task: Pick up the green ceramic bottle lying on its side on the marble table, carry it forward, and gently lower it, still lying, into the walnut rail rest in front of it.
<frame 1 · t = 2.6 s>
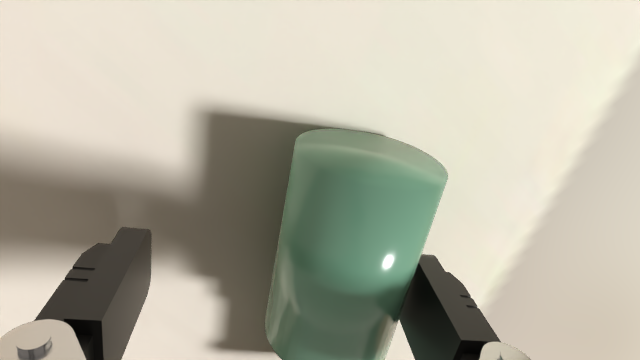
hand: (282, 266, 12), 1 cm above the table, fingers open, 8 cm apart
bottle: (336, 290, 12), point 2 cm above the table, tilted 54°
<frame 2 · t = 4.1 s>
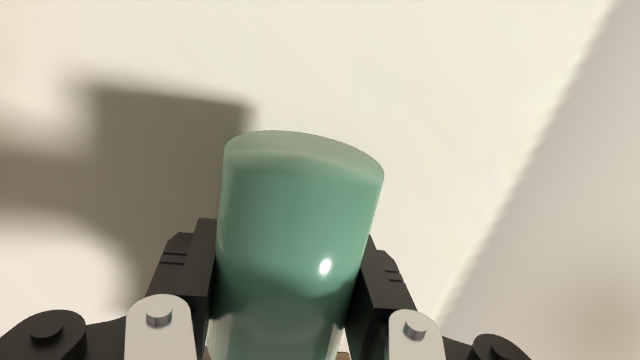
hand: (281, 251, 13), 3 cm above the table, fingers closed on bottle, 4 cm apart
bottle: (280, 298, 12), point 4 cm above the table, touching gripper
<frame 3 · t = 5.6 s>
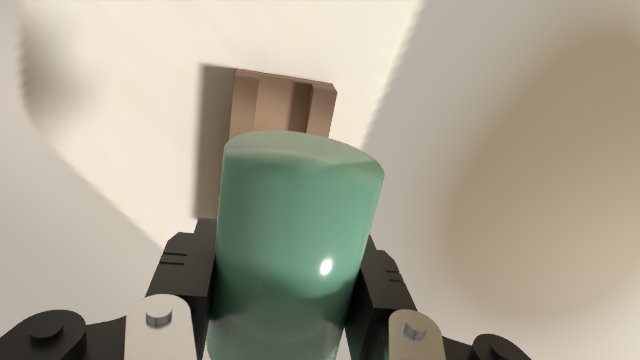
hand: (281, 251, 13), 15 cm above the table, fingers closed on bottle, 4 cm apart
bottle rest: (274, 156, 28), on the table
bottle: (280, 298, 12), point 17 cm above the table, touching gripper
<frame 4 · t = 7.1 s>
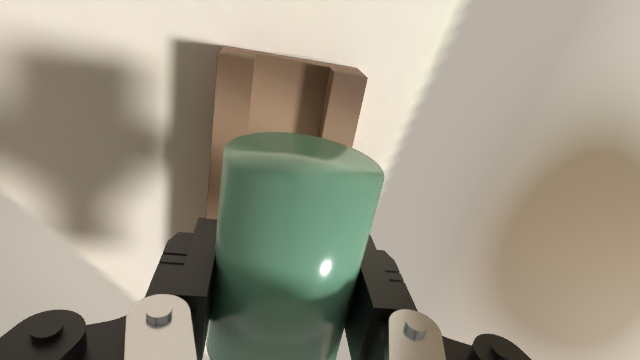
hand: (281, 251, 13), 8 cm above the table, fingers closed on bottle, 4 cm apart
bottle rest: (276, 169, 20), on the table
bottle: (280, 300, 12), point 9 cm above the table, touching gripper
when the fingers open (3 cm above the table, at t = 8.3 s): bottle drops 2 cm, resting on bottle rest.
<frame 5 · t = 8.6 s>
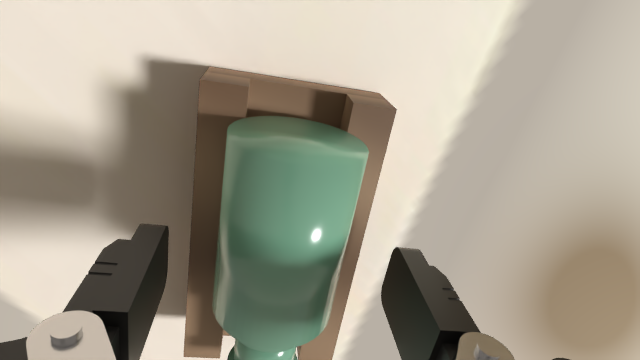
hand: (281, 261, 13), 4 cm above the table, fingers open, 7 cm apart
bottle rest: (276, 216, 16), on the table
bottle: (278, 267, 13), point 3 cm above the table, touching bottle rest
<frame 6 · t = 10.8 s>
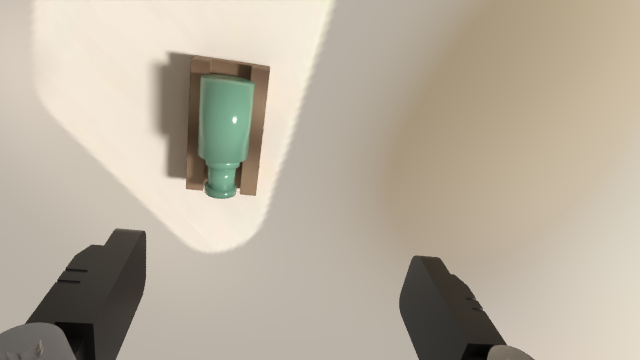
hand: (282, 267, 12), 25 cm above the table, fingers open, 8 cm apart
bottle rest: (228, 125, 36), on the table
bottle: (224, 136, 32), point 3 cm above the table, touching bottle rest
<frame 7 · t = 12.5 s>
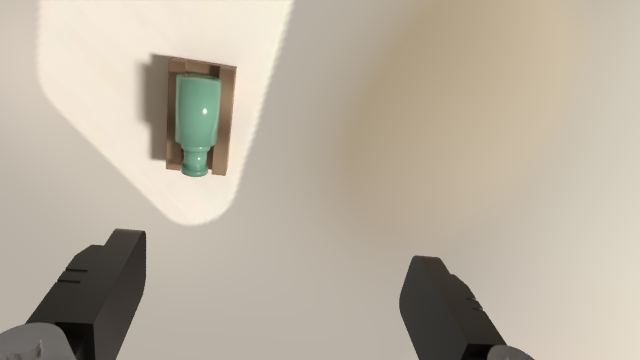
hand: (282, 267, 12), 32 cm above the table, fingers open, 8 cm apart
bottle rest: (202, 115, 42), on the table
bottle: (197, 125, 39), point 3 cm above the table, touching bottle rest
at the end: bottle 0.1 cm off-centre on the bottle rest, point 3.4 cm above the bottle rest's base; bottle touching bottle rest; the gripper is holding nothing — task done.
